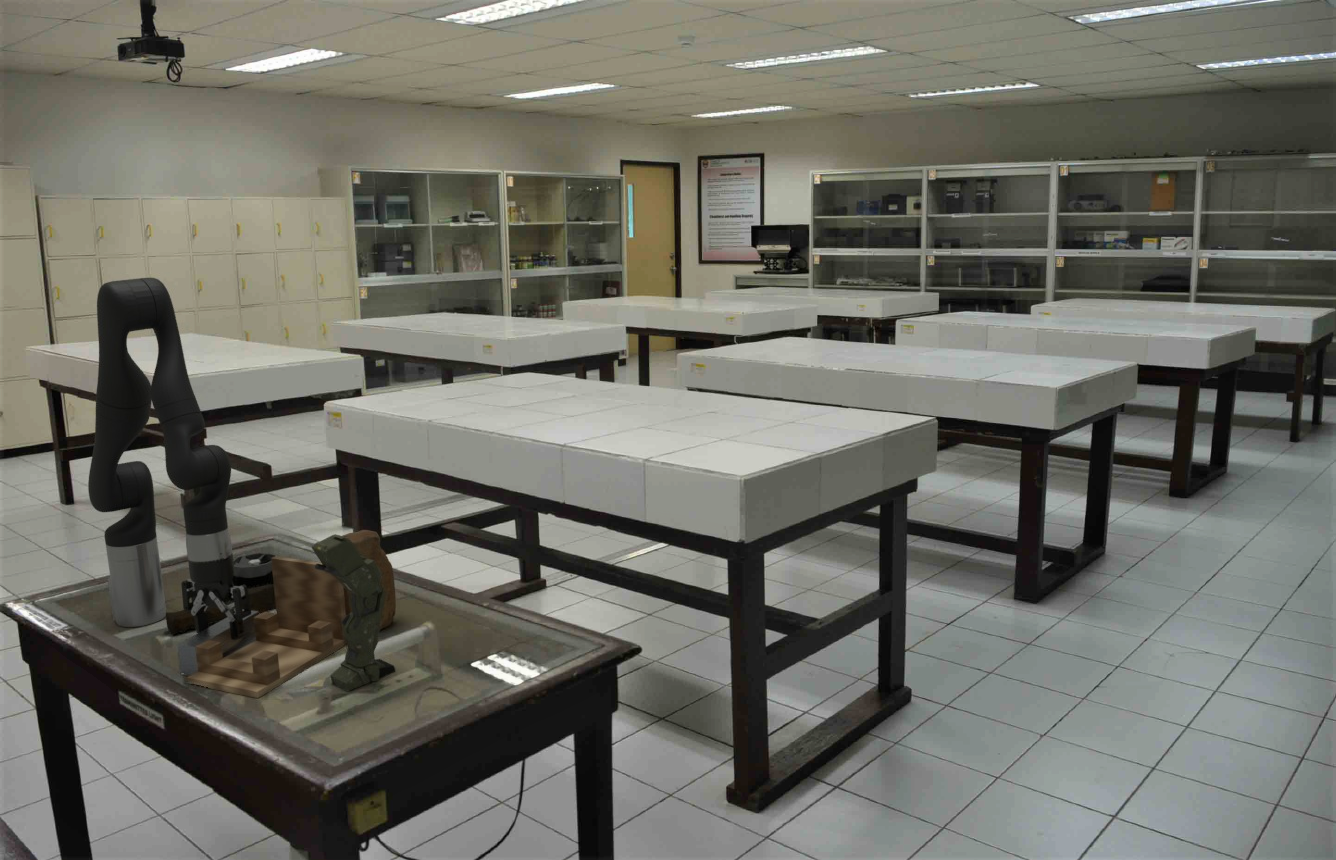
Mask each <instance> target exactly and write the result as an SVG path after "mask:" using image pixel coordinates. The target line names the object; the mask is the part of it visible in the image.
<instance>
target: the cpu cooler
mask: <svg viewBox="0 0 1336 860" xmlns="http://www.w3.org/2000/svg"><path fill="white" fill-rule="evenodd" d="M275 556H276V555H275V554H273V553H272V552H271V553H270V552H252V553H244V554H241V555H237V556H234V558H233V561H234V570H235V573H234V575H233V577H232V582H233V585H234V586H242V585H246V586H247V589H251V588H254V587H260V586H264V585H274V582H273V572H272V563H271V558H273V557H275Z"/></svg>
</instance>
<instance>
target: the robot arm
mask: <svg viewBox="0 0 1336 860" xmlns="http://www.w3.org/2000/svg"><path fill="white" fill-rule="evenodd" d="M174 308H175V307H174V304H173V301H172V298H171V295H170V293H169V290H168V289H167V287H166V286H165V284H164V283H163V281H161V280H160V279H159V278H156V277H141V278H129V279H122V280H112V281H109V282H108V281H107V282H104V283H103V284H102V285H101V286H100V288H99V290H98V293H97V298H96V317H97V334H98V335H97V336H98V337H97V338H98V371H97V372H98V373H97V382H96V383H97V385H96V391H95V395H96V396H95V423H94V424H95V426H94V428H95V429H94V431H95V432H94V441H93V449H92V450H93V451H92V456H91V461H90V467H89V474H88V485H87V489H88V497H89V501H90V503H91V506H92V507H93V509H95V510H96V511H97V512H100V513H111V512H112V513H113V512H117V511H122V510H128V509H129V511H128V512H127V513H126V515H124V516H123V517H122V518H121V519H119V520H118V521H116V522H115V523H113V524H111V525H109V526H108V527H107V528H106V529H105V531H104V541H105V549H106V556H107V563H108V571H109V576H108V577H107V586H108V592H109V599H110V605H111V612H112V620H113V622H116V624H117V625H118V626H120V627H123V628H136V627H143V626H147V625H151V624H155V623H157V622H159V621H161V620H162V619H164V618H166V612H167V605H166V599H165V591H164V590H165V589H164V581H163V575H162V567H161V560H160V551H159V545H158V537H157V535H158V534H157V528H156V527H157V518H156V507H155V495H154V494H155V492H154V491H155V490H154V489H155V488H154V482H153V477H152V473H151V470H150V468H149V467H148V465H147V464H146V463H145V462H143V461H140V460H136V461H128V462H127V461H126V462H122V463H119V462H120V460H121V458H122V456H123V454H124V452H125V451H126V450H127V449H128V447H130V445H131V444H132V443H133V442H134V441H135V440H136V439H137V437H139V435H140V434H141V432H142V431H143V430H144V429H145V427H146V425H147V424H148V422H149V420H150V417H151V408H152V407H153V409H154V411H155V414H156V416H157V419H158V422H159V425H160V427H161V429H162V435H163V444H164V455H165V457H164V458H165V470H166V473H167V476H168V478H169V480H170V482H171V483H172V484H173V485H174V486H175V487H177V488H178V489H180V490H183V491H190V490H194V489H197V488H200V490H199V493H198V494H197V495H196V496H195V497H193V498H191V499H190V500H188V501H187V502H185V503H184V505H183V517H184V526H185V535H186V539H185V540H186V542H185V544H186V545H185V546H186V547H185V548H186V555H187V562H188V569H189V578H187V579H186V580H183V581H181V594H182V596H181V597H182V607H183V610H185V611H188V610H189V611H190V612H191V614H192V615H193V616H194V622H195V628H194V629H195V630H196V634H198V633H200V632H201V631H203V630H205V629H207V628H209V627H210V626H209V624H208V619H207V612H204V611H205V610H206V609H207V607H208V606H214V607H217V608H219V609H220V610H221V612H223V613H226V615H227V616H228V618H229V619H230V622H229V624H230V632H231V639H232V640H237V639H239V638H241V637H242V636H243V634H244V628H243V618H245V617H247V616H249V615H251V607H250V601H249V595H248V589H249V588H248V589H247V586H246V585H242V586H234V585H233V582H232V577H233V575H234V573H235V570H234V561H233V559H234V554H233V546H232V539H231V533H230V530H229V526H228V515H227V509H226V506H227V499H228V494H229V487H230V483H231V482H230V481H231V477H232V464H231V460H230V456H229V454H228V453H227V452H226V450H225V449H224V448H223V447H221V446H220V445H217V444H207V445H203V446H199V447H195V448H194V447H193V448H191V438H192V437H193V436H196V435H198V434H200V433H201V432H203V431H204V429H205V428H206V423H205V422H206V421H205V419H204V416H203V414H202V410H201V409H200V406H199V403H198V400H197V398H196V394H195V392H194V390H193V387H192V384H191V380H190V377H189V373H188V369H187V366H186V365H187V364H186V360H185V354H184V349H183V345H182V344H183V343H182V340H181V336H180V331H179V326H178V321H177V317H176V314H175V313H176V312H175V309H174ZM150 329H151V330H153V333H154V335H155V338H156V341H157V348H158V350H157V360H156V363H155V368H154V373H153V375H152V382H150V380H149V379H148V377H147V375H146V374H145V373H144V371H143V370H142V369H141V368H140V366H139V365H138V363H136V362H135V360H133V358H132V356H131V354H130V353H129V351H128V345H127V344H128V343H127V341H128V335H129V334H130V332H137V331H144V330H150ZM190 599H191V602H190ZM229 600H230V601H231V604H229V605H226V604H227V603H228V602H229ZM242 606H244V611H242ZM231 609H234V611H235V612H236V613H235V614H234V613H233V612H232V610H231Z"/></svg>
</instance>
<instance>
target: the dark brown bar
mask: <svg viewBox="0 0 1336 860" xmlns="http://www.w3.org/2000/svg"><path fill="white" fill-rule="evenodd" d="M248 595H249V601H250V607H251V611H259V614H261V613H263V612H270V611H273V610H274V609H276V601H275V592H274V584H273V585H270V584H269V585H268V584H267V585H264V586H260V587H259V586H258V587H257V586H256V587H253V588H251V589H250V588H248ZM229 604H231V601H230V600H229V602H228V603H227V604H226V605H229ZM231 610H232V612H233V613H236V612H235V611H234V609H231ZM242 610H244V606H242ZM204 612H207V619H208V625H209V624H213V623H218V622H220V621H221V620H223V619H225V618H227V617H228V616H227V615H226V613H223V612H221V610H220V609H219V608H217V607H214V606H208V607H207V609H206V610H205V611H204ZM165 622H166V628H167V630H168V633H169V634H170V635H171V636H175V635H176V634H179V633H185V632H186V631H187V630H190V629H191V630H192V629H196V628H195V622H194V616H193V615H192V614H191V612H190V611H189V610H188V611H185V610H184V609H181V610H179V611H175V612H174V611H173V612H170V611H169V612H167V611H166V616H165Z"/></svg>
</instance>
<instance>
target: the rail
mask: <svg viewBox="0 0 1336 860" xmlns="http://www.w3.org/2000/svg"><path fill="white" fill-rule="evenodd" d="M242 611H244V610H242ZM234 614H235V613H234ZM257 615H259V611H251V615H249V616H247V617H245V618H243V628H244V634H243V636H242V637H241V638H239V639H237V640H232V639H231V632H230V624H229V622H230V619H229V618H228V617H227V618H225V619H223V620H221V621H217V622H215V623H214V624H213V625H211V626H208V627H209V628H207V629H205V630H203V631H201V632H200V633H196V634H194V635H193V636H190V637H189V638H187V639H185V640H183V641H181V642H180V643H178V644H176V649H177V656H178V663H179V671H180V672H181V673H184V674H186V675H185V676H187V675H189V676H191V675H193V674H194V673H196V672H198V666H197V658H196V650H195V647H196V646H198V645H200V644H202V643H204V642H206V641H208V640H211V641H216V642H221V646H222V655H223V658H224V657H226V656H228V655H230V654H232V653H234V652H236V651H238V650H239V649H241V648H243V647H245V646H247V645H249V644H251V643H253V642H255V641H256V634H255V625H254V617H255V616H257ZM181 673H180V674H181ZM189 676H188V677H189Z"/></svg>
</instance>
